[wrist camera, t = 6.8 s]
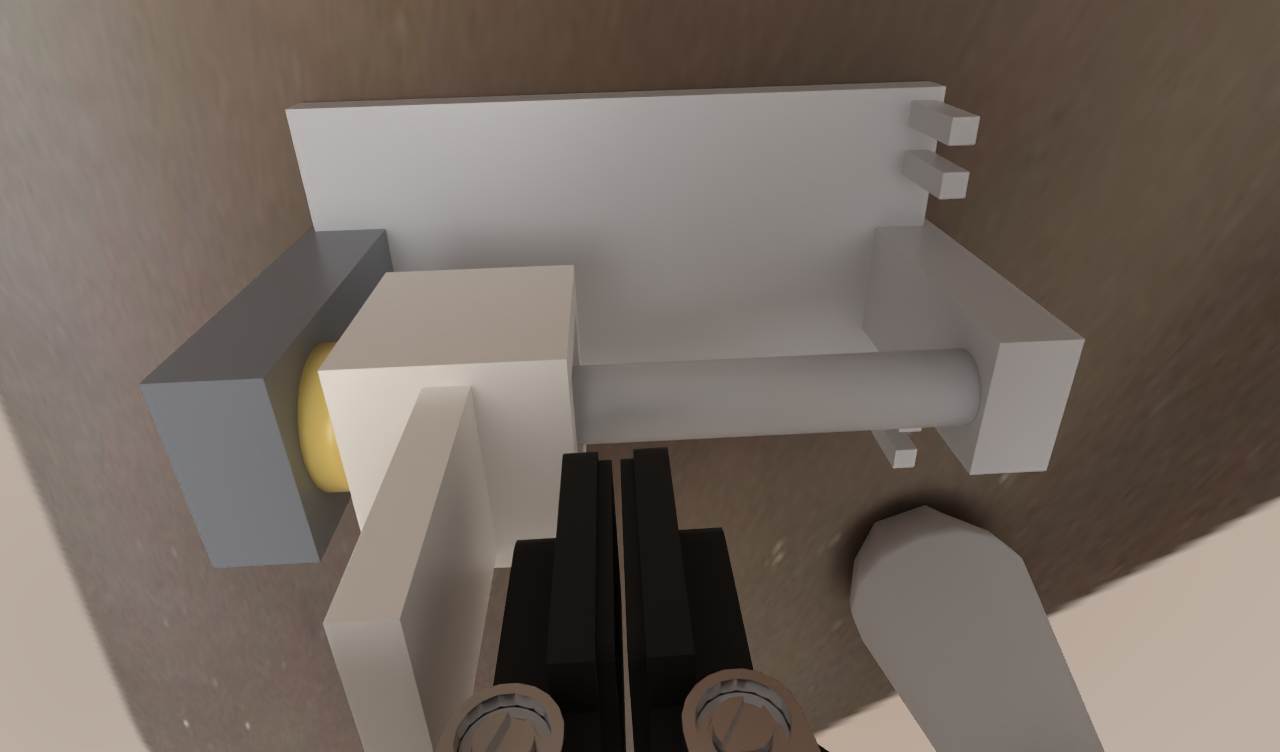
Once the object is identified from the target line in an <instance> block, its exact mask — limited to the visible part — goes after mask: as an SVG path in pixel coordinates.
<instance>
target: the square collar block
mask: <svg viewBox="0 0 1280 752" xmlns="http://www.w3.org/2000/svg"><path fill="white" fill-rule="evenodd" d="M572 366H581V353H580V340H579V326H578V312H577V298H576V284H575V271H574V265H553V266H529V267H505V268H481V269H457V270H433V271H410V272H386V273H385V275H384V276H383V277H382V279H381V280H380V282H379V283H378V285H377V286H376V288H375V289H374V290H373V292H372V293H371V295H370V296H369V298H368V299H367V300H366V302H365V303H364V305H363V306H362V308H361V309H360V310H359V312H358V313H357V315H356V316H355V318H354V319H353V320H352V322H351V323H350V325H349V326H348V328H347V329H346V331H345V332H344V333H343V335H342V336H341V338H340V339H339V341H338V342H337V343H336V345H335V346H334V348H333V349H332V351H331V352H330V353H329V355H328V356H327V358H326V359H325V361H324V362H323V363H322V365H321V366H320V368H319V369H318V375H319V378H320V382H321V386H322V389H323V393H324V397H325V401H326V404H327V408H328V412H329V415H330V419H331V423H332V427H333V430H334V434H335V438H336V441H337V445H338V449H339V453H340V456H341V460H342V464H343V467H344V471H345V475H346V479H347V482H348V486H349V490H350V493H351V497H352V501H353V505H354V508H355V512H356V516H357V519H358V523H359V527H360V531H361V534H360V536H359V539H358V541H357V543H356V546H355V548H354V550H353V553H352V555H351V558H350V560H349V562H348V565H347V567H346V569H345V572H344V574H343V577H342V579H341V581H340V584H339V586H338V589H337V591H336V593H335V596H334V598H333V600H332V603H331V605H330V608H329V610H328V612H327V615H326V617H325V620H324V622H323V626H324V629H325V632H326V635H327V638H328V641H329V644H330V647H331V650H332V653H333V656H334V660H335V663H336V666H337V669H338V672H339V675H340V678H341V681H342V684H343V687H344V690H345V693H346V696H347V699H348V702H349V705H350V708H351V712H352V715H353V718H354V721H355V724H356V727H357V730H358V733H359V736H360V739H361V742H362V745H363V748H364V751H365V752H435V751H436V749H437V746H438V743H439V741H440V738H441V735H442V732H443V730H444V728H445V727H446V725H447V723H448V721H449V719H450V717H451V716H452V714H453V713H454V712H455V711H456V710H457V709H458V708H459V707H460V706H461V705H462V704H463V703H464V702H465V701H466V700H467V699H469V698H470V697H472V693H473V688H474V682H475V676H476V670H477V665H478V659H479V653H480V647H481V641H482V636H483V630H484V624H485V618H486V612H487V607H488V601H489V595H490V589H491V583H492V578H493V572H494V568H502V567H511V565H512V558H513V552H514V547H515V543H516V541H517V540H528V539H544V538H556V531H557V518H558V506H559V494H560V481H561V469H562V457H563V454H565V453H582V452H586V444H584V445H577V440H576V428H575V415H574V403H573V391H572Z"/></svg>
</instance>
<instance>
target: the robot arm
mask: <svg viewBox="0 0 1280 752" xmlns="http://www.w3.org/2000/svg"><path fill="white" fill-rule="evenodd" d="M633 453H634V459H620V464H621V491H622V518H623V545H624V573H625V600H626V627H627V651H628V669H629V684H630V698H631V712H632V726H633V740H634V752H829V751H827V750H825V749H824V748H823V747H821V746H820V745H818V744H817V742H816V739H815V737H814V735H813V733H812V730H811V728H810V726H809V724H808V721H807V719H806V717H805V715H804V712H803V710H802V708H801V706H800V705H799V703H798V702H797V700H796V698H795V697H794V695H793V694H792V692H791V691H790V690H788V689H787V688H786V687H785V686H784V685H783V684H781V683H780V682H779V681H778V680H776V679H774V678H772V677H770V676H768V675H766V674H764V673H762V672H758V671H753V666H752V661H751V657H750V652H749V647H748V643H747V638H746V633H745V629H744V624H743V619H742V615H741V610H740V605H739V601H738V596H737V591H736V587H735V582H734V577H733V573H732V568H731V563H730V559H729V554H728V549H727V545H726V540H725V536H724V532H723V530H722V528H706V529H689V530H678V522H677V515H676V508H675V500H674V493H673V485H672V478H671V470H670V463H669V456H668V449H667V447H665V448H648V449H633ZM435 752H626V736H625V702H624V668H623V635H622V603H621V584H620V570H619V557H618V543H617V529H616V515H615V502H614V488H613V474H612V462H611V460H602V461H599V460H598V452H582V453H565V454H563V457H562V469H561V481H560V494H559V506H558V518H557V531H556V538H544V539H528V540H517V541H516V543H515V547H514V552H513V558H512V565H511V572H510V578H509V585H508V591H507V598H506V605H505V611H504V618H503V625H502V631H501V638H500V644H499V651H498V658H497V664H496V671H495V677H494V684H493V687H490V688H487V689H484V690H481V691H480V692H478V693H477V694H475V695H474V696H472V697H470V698H469V699H467V700H466V701H465V702H464V703H463V704H462V705H461V706H460V707H459V708H458V709H457V710H456V711H455V712H454V713H453V714H452V716H451V717H450V719H449V721H448V723H447V725H446V727H445V728H444V730H443V732H442V735H441V738H440V741H439V743H438V746H437V749H436V751H435Z"/></svg>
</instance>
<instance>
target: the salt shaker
mask: <svg viewBox="0 0 1280 752" xmlns="http://www.w3.org/2000/svg"><path fill="white" fill-rule="evenodd" d="M849 603H850V608H851V613H852V616H853V619H854V621H855V624H856V626H857V629H858V631H859V633H860V636H861V638H862V640H863V642H864V643H865V645H866V646H867V648H868V649H869V651H870V652H871V654H872V655H873V657H874V658H875V660H876V661H877V663H878V664H879V666H880V667H881V669H882V670H883V672H884V673H885V675H886V676H887V678H888V679H889V681H890V682H891V684H892V685H893V687H894V688H895V690H896V691H897V693H898V694H899V696H900V697H901V699H902V700H903V702H904V703H905V705H906V706H907V708H908V709H909V711H910V712H911V714H912V715H913V717H914V718H915V720H916V721H917V723H918V724H919V726H920V727H921V729H922V730H923V732H924V733H925V735H926V736H927V738H928V739H929V741H930V742H931V744H932V745H933V747H934V748H935V750H936V751H937V752H1104V749H1103V747H1102V745H1101V742H1100V740H1099V738H1098V735H1097V733H1096V731H1095V728H1094V726H1093V724H1092V721H1091V719H1090V717H1089V714H1088V712H1087V710H1086V707H1085V705H1084V703H1083V700H1082V698H1081V695H1080V693H1079V691H1078V688H1077V686H1076V684H1075V681H1074V679H1073V677H1072V674H1071V672H1070V670H1069V667H1068V665H1067V663H1066V660H1065V658H1064V656H1063V653H1062V651H1061V649H1060V646H1059V644H1058V641H1057V639H1056V637H1055V635H1054V632H1053V630H1052V628H1051V625H1050V623H1049V620H1048V618H1047V616H1046V613H1045V611H1044V609H1043V606H1042V604H1041V602H1040V599H1039V597H1038V595H1037V592H1036V590H1035V588H1034V585H1033V583H1032V580H1031V578H1030V576H1029V573H1028V571H1027V569H1026V566H1025V564H1024V562H1023V559H1022V558H1021V557H1020V556H1019V555H1018V554H1016V553H1015V552H1014V551H1013V550H1012V549H1011V548H1010V547H1008V546H1007V545H1006V544H1005V543H1003V542H1002V541H1001V540H999V539H998V538H997V537H996V536H994V535H993V534H992V533H990V532H989V531H988V530H985V529H982V528H980V527H977V526H975V525H972V524H969V523H967V522H964V521H962V520H959V519H956V518H954V517H951V516H949V515H946V514H944V513H941V512H939V511H937V510H935V509H933V508H930V507H928V506H926V505H924V506H921V507H918V508H915V509H912V510H909V511H906V512H903V513H900V514H898V515H895V516H892V517H889V518H886V519H883V520H880V521H877V522H875V523H874V525H873V527H872V528H871V530H870V532H869V534H868V536H867V538H866V540H865V541H864V543H863V545H862V547H861V549H860V551H859V552H858V554H857V556H856V558H855V560H854V567H853V576H852V585H851V594H850V602H849Z"/></svg>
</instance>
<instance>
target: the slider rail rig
mask: <svg viewBox="0 0 1280 752" xmlns="http://www.w3.org/2000/svg"><path fill="white" fill-rule="evenodd" d="M945 91H946V86H943V85H940V84H937V83H934V82H931V81H918V82H889V83H860V84H831V85H802V86H773V87H744V88H716V89H687V90H658V91H629V92H600V93H571V94H542V95H513V96H484V97H455V98H426V99H397V100H369V101H340V102H311V103H298V104H296V105H294V106H292V107H290V108H287V109H285V111H286V115H287V119H288V123H289V127H290V132H291V136H292V140H293V144H294V148H295V152H296V156H297V160H298V164H299V168H300V172H301V176H302V180H303V184H304V189H305V193H306V197H307V201H308V205H309V209H310V213H311V217H312V221H313V225H314V226H313V227H312V228H311V229H310V230H309V231H308V232H306V233H305V234H304V235H303V236H302V237H301V238H300V239H299V240H298V241H297V242H295V243H294V244H293V245H292V246H291V247H290V248H289V249H288V250H287V251H285V252H284V253H283V254H282V255H281V256H280V257H279V258H278V259H277V260H275V261H274V262H273V263H272V264H271V265H270V266H269V267H268V268H267V269H266V270H264V271H263V272H262V273H261V274H260V275H259V276H258V277H257V278H256V279H254V280H253V281H252V282H251V283H250V284H249V285H248V286H247V287H246V288H245V289H243V290H242V291H241V292H240V293H239V294H238V295H237V296H236V297H235V298H233V299H232V300H231V301H230V302H229V303H228V304H227V305H226V306H225V307H224V308H222V309H221V310H220V311H219V312H218V313H217V314H216V315H215V316H214V317H212V318H211V319H210V320H209V321H208V322H207V323H206V324H205V325H204V326H203V327H201V328H200V329H199V330H198V331H197V332H196V333H195V334H194V335H193V336H191V337H190V338H189V339H188V340H187V341H186V342H185V343H184V344H183V345H181V346H180V347H179V348H178V349H177V350H176V351H175V352H174V353H173V354H172V355H170V356H169V357H168V358H167V359H166V360H165V361H164V362H163V363H162V364H160V365H159V366H158V367H157V368H156V369H155V370H154V371H153V372H152V373H151V374H149V375H148V376H147V377H146V378H145V379H144V380H143V381H142V382H141V383H139V386H140V389H141V391H142V394H143V396H144V398H145V401H146V403H147V406H148V408H149V411H150V413H151V416H152V418H153V421H154V423H155V426H156V428H157V430H158V433H159V435H160V438H161V440H162V443H163V445H164V448H165V450H166V453H167V455H168V457H169V460H170V462H171V465H172V467H173V470H174V472H175V475H176V477H177V480H178V482H179V485H180V487H181V489H182V492H183V494H184V497H185V499H186V502H187V504H188V507H189V509H190V512H191V514H192V517H193V519H194V521H195V524H196V526H197V529H198V531H199V534H200V536H201V539H202V541H203V544H204V546H205V549H206V551H207V553H208V556H209V558H210V561H211V563H212V566H213V568H221V567H239V566H258V565H276V564H295V563H313V562H321V559H322V557H323V555H324V553H325V551H326V549H327V547H328V544H329V542H330V540H331V538H332V536H333V534H334V532H335V529H336V527H337V525H338V523H339V521H340V519H341V517H342V515H343V512H344V510H345V508H346V506H347V504H348V502H349V500H350V497H351V493H350V490H349V486H348V482H347V479H346V475H345V471H344V467H343V464H342V460H341V456H340V453H339V449H338V445H337V441H336V438H335V434H334V430H333V427H332V423H331V419H330V415H329V412H328V408H327V404H326V401H325V397H324V393H323V389H322V386H321V382H320V378H319V375H318V369H319V368H320V366H321V365H322V363H323V362H324V361H325V359H326V358H327V356H328V355H329V353H330V352H331V351H332V349H333V348H334V346H335V345H336V343H337V342H338V341H339V339H340V338H341V336H342V335H343V333H344V332H345V331H346V329H347V328H348V326H349V325H350V323H351V322H352V320H353V319H354V318H355V316H356V315H357V313H358V312H359V310H360V309H361V308H362V306H363V305H364V303H365V302H366V300H367V299H368V298H369V296H370V295H371V293H372V292H373V290H374V289H375V288H376V286H377V285H378V283H379V282H380V280H381V279H382V277H383V276H384V275H385V273H386V272H410V271H433V270H457V269H481V268H505V267H529V266H553V265H574V271H575V284H576V298H577V312H578V326H579V340H580V353H581V366H572V391H573V403H574V415H575V428H576V440H577V445H584V444H604V443H625V442H645V441H665V440H685V439H705V438H725V437H746V436H766V435H786V434H806V433H826V432H846V431H866V430H871V432H872V434H873V435H874V437H875V439H876V440H877V442H878V444H879V445H880V447H881V449H882V450H883V452H884V454H885V456H886V457H887V459H888V461H889V462H890V464H891V466H892V467H893V468H906V467H914V465H915V460H916V455H917V448H916V446H915V445H914V443H913V442H912V440H911V439H910V437H909V436H908V434H907V433H906V432H914V431H921V428H927V427H935V429H936V430H937V431H938V433H939V434H940V435H941V437H942V438H943V439H944V441H945V442H946V444H947V445H948V446H949V448H950V449H951V450H952V452H953V453H954V454H955V456H956V457H957V458H958V460H959V461H960V463H961V464H962V465H963V467H964V468H965V469H966V471H967V472H968V473H969V475H975V474H994V473H1014V472H1033V471H1046V470H1047V467H1048V463H1049V460H1050V457H1051V453H1052V450H1053V446H1054V443H1055V440H1056V436H1057V433H1058V429H1059V426H1060V423H1061V419H1062V416H1063V413H1064V409H1065V406H1066V402H1067V399H1068V396H1069V392H1070V389H1071V385H1072V382H1073V379H1074V375H1075V372H1076V369H1077V365H1078V362H1079V358H1080V355H1081V352H1082V348H1083V345H1084V341H1085V339H1084V338H1083V337H1082V336H1080V335H1079V334H1078V333H1076V332H1075V331H1074V330H1072V329H1071V328H1070V327H1068V326H1067V325H1066V324H1064V323H1063V322H1062V321H1060V320H1059V319H1058V318H1056V317H1055V316H1054V315H1053V314H1051V313H1050V312H1049V311H1047V310H1046V309H1045V308H1043V307H1042V306H1041V305H1039V304H1038V303H1037V302H1035V301H1034V300H1033V299H1031V298H1030V297H1029V296H1027V295H1026V294H1025V293H1024V292H1022V291H1021V290H1020V289H1018V288H1017V287H1016V286H1014V285H1013V284H1012V283H1010V282H1009V281H1008V280H1006V279H1005V278H1004V277H1002V276H1001V275H1000V274H998V273H997V272H996V271H995V270H993V269H992V268H991V267H989V266H988V265H987V264H985V263H984V262H983V261H981V260H980V259H979V258H977V257H976V256H975V255H973V254H972V253H971V252H969V251H968V250H967V249H966V248H964V247H963V246H962V245H960V244H959V243H958V242H956V241H955V240H954V239H952V238H951V237H950V236H948V235H947V234H946V233H944V232H943V231H942V230H940V229H939V228H938V227H937V226H935V225H934V224H933V223H931V222H930V221H929V220H927V219H926V218H925V213H926V207H927V201H928V195H929V193H931V194H932V195H934V196H935V197H937V198H938V199H957V198H965V194H966V189H967V184H968V179H969V173H970V172H969V171H967V170H965V169H963V168H962V167H960V166H958V165H956V164H954V163H952V162H951V161H949V160H947V159H945V158H943V157H941V156H940V155H938V154H936V153H935V152H936V146H937V140H938V141H940V142H942V143H944V144H946V145H948V146H955V145H975V141H976V136H977V131H978V125H979V120H980V116H977V115H975V114H972V113H969V112H967V111H964V110H962V109H959V108H956V107H954V106H951V105H949V104H946V103H944V97H945Z"/></svg>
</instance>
